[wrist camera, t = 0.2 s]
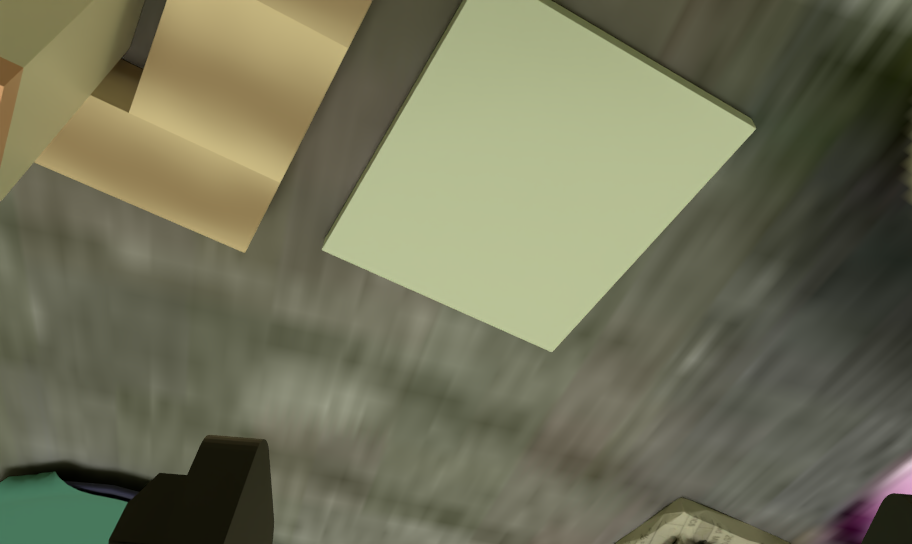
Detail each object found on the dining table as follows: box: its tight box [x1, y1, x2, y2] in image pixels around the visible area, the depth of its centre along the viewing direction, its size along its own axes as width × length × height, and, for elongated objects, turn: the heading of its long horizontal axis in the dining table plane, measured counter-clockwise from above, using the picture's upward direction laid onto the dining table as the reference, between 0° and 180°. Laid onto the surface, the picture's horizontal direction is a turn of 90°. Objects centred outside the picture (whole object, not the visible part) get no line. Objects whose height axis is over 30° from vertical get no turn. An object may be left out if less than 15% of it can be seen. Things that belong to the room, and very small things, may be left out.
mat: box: [322, 0, 756, 352], centre depth 33 cm, size 14×12×1 cm
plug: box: [0, 0, 145, 202], centre depth 24 cm, size 5×4×12 cm
